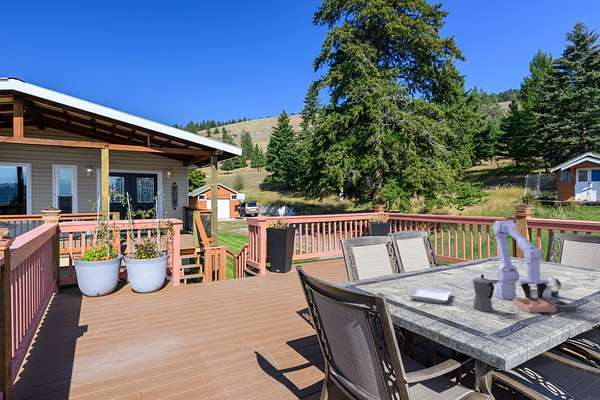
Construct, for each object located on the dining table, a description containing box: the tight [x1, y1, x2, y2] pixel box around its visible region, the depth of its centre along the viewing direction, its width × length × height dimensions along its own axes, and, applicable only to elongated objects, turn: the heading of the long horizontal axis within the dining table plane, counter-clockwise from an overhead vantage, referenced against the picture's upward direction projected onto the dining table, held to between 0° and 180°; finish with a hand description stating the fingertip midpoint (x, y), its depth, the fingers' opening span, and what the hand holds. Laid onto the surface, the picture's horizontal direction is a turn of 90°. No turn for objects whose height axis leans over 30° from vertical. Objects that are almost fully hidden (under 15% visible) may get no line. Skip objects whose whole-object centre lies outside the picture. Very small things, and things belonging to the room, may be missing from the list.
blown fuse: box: [529, 288, 538, 306], centre depth 178 cm, size 4×4×9 cm
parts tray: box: [512, 298, 557, 314], centre depth 178 cm, size 13×13×3 cm
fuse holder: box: [538, 295, 577, 313], centre depth 182 cm, size 8×20×2 cm, turn 179°
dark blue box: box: [544, 276, 562, 299], centre depth 197 cm, size 6×8×11 cm
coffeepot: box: [472, 274, 495, 313], centre depth 178 cm, size 15×9×18 cm, turn 6°
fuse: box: [543, 284, 552, 299], centre depth 187 cm, size 4×4×9 cm
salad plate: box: [407, 286, 453, 304], centre depth 200 cm, size 21×21×3 cm
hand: (533, 297), depth 178 cm, fingers open, 6 cm apart
